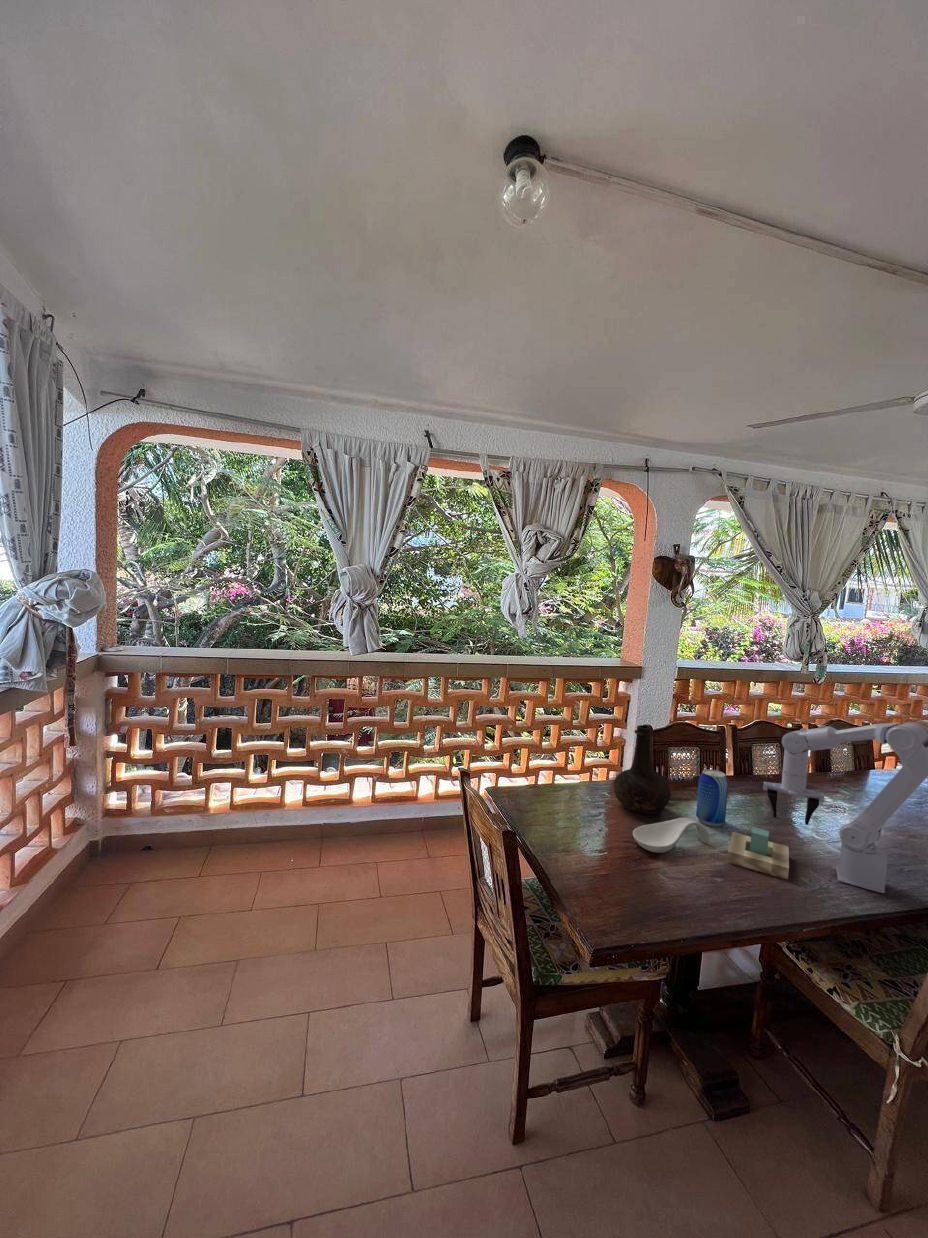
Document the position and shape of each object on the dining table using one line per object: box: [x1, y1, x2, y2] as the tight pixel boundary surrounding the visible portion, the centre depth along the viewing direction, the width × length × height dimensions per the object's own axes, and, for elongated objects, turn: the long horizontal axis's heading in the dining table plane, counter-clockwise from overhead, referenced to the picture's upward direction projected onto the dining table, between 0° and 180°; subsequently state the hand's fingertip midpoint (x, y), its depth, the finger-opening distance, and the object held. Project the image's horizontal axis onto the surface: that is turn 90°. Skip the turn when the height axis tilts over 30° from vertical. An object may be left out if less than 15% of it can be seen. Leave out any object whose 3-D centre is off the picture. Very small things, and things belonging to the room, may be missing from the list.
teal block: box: [750, 826, 770, 856], centre depth 141 cm, size 4×4×8 cm
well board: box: [726, 831, 790, 880], centre depth 141 cm, size 14×14×3 cm
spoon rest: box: [632, 817, 710, 854], centre depth 147 cm, size 24×12×7 cm, turn 109°
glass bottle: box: [613, 724, 671, 815], centre depth 171 cm, size 18×18×28 cm
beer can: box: [695, 768, 729, 828], centre depth 164 cm, size 8×8×16 cm
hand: (790, 819), depth 146 cm, fingers open, 7 cm apart
